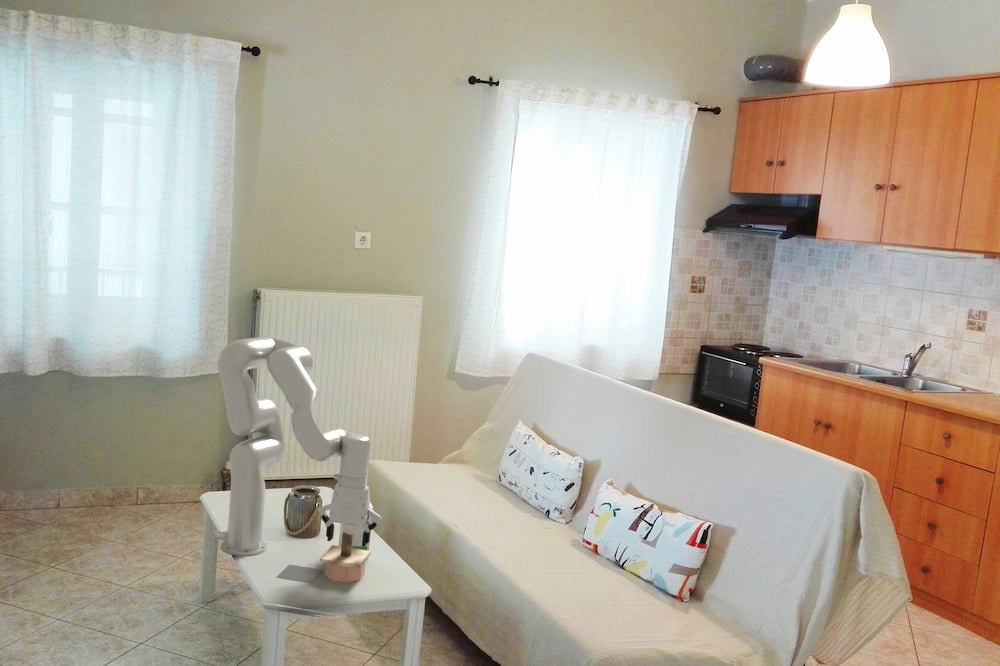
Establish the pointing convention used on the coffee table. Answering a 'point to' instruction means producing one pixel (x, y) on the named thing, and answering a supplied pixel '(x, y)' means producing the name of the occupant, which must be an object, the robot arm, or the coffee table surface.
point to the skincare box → (355, 534)
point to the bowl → (344, 572)
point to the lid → (345, 553)
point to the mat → (300, 573)
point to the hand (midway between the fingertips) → (347, 542)
